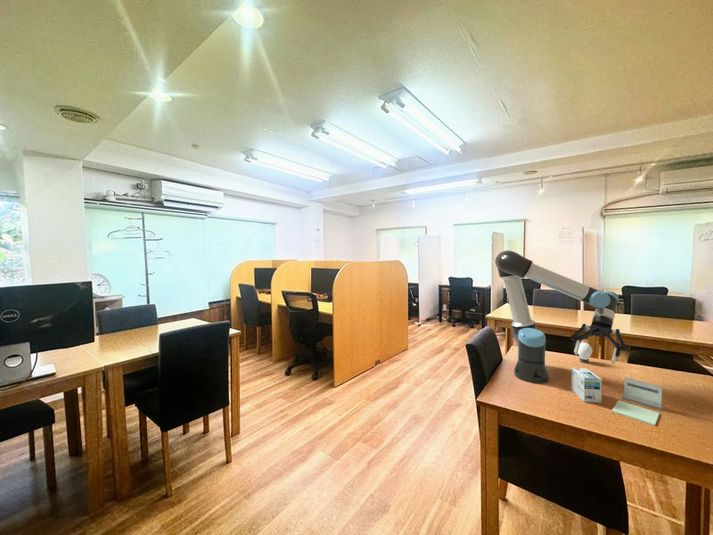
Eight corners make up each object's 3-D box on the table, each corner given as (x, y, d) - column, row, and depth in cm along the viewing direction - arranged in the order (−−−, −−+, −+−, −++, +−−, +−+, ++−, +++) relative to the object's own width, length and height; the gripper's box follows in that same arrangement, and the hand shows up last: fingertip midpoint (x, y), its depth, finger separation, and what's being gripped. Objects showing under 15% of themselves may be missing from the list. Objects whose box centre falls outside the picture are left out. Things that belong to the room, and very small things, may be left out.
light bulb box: (602, 403, 120) (602, 378, 119) (583, 402, 122) (584, 377, 121) (587, 390, 131) (587, 367, 130) (570, 389, 132) (570, 367, 131)
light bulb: (590, 360, 162) (591, 341, 161) (592, 365, 156) (593, 345, 156) (575, 358, 166) (576, 340, 165) (577, 362, 160) (577, 343, 159)
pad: (611, 411, 114) (611, 410, 114) (618, 401, 121) (618, 400, 121) (654, 425, 105) (655, 424, 105) (659, 414, 112) (659, 412, 112)
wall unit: (622, 398, 123) (623, 378, 122) (623, 396, 125) (624, 376, 124) (661, 410, 114) (662, 388, 113) (662, 408, 116) (663, 386, 115)
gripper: (639, 329, 132) (631, 370, 124) (573, 319, 151) (563, 354, 143) (637, 319, 128) (629, 361, 120) (570, 310, 148) (559, 346, 139)
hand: (593, 357), depth 132 cm, fingers open, 13 cm apart
